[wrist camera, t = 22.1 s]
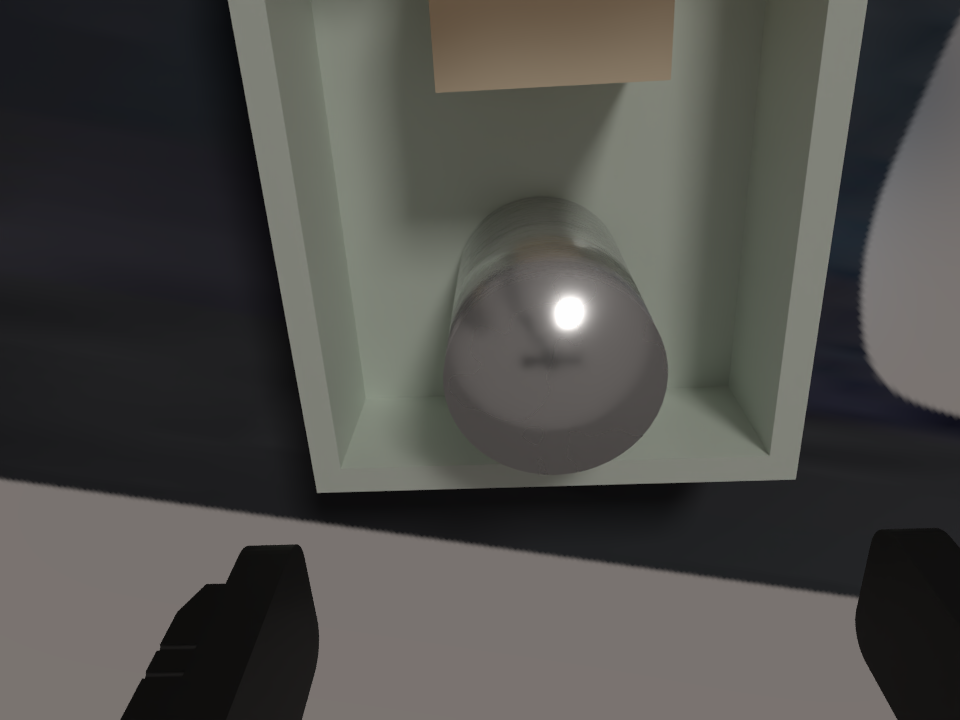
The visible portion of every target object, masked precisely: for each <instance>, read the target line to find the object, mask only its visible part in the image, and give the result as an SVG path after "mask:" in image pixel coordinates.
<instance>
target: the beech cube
mask: <svg viewBox="0 0 960 720" xmlns="http://www.w3.org/2000/svg"><path fill="white" fill-rule="evenodd" d="M674 9H675V0H429V14H430V27H431V40H432V53H433V67H434V80H435V93H443V92H461V91H480V90H498V89H516V88H535V87H553V86H571V85H590V84H608V83H626V82H645V81H663V80H671V67H672V48H673V29H674Z"/></svg>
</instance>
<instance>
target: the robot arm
mask: <svg viewBox="0 0 960 720" xmlns="http://www.w3.org/2000/svg"><path fill="white" fill-rule="evenodd" d="M855 621H856V622H855V623H856V632H857V633H856V634H857V639H858V643H859V647H860V650H861V653H862V655H863V657H864V659H865V661H866V664H867V665H868V667H869V669H870V671H871V673H872V674H873V676H874V678H875V680H876V682H877V683H878V685H879V687H880V689H881V691H882V692H883V694H884V696H885V698H886V700H887V701H888V703H889V705H890V707H891V709H892V711H893V712H894V714H895V716H896V718H897V719H898V720H960V548H959V547H958V545H957V544H956V543H955V542H954V541H953V539H952V538H951V537H950V536H949V535H948V534H947V533H946V532H945V531H943V530H941V529H939V528H916V529H882V530H879V531H877V532H876V533H875V535H874V536H873V538H872V542H871V546H870V550H869V555H868V559H867V564H866V568H865V573H864V577H863V582H862V586H861V591H860V596H859V600H858V605H857V609H856V618H855ZM318 649H319V630H318V622H317V616H316V612H315V607H314V602H313V597H312V592H311V587H310V582H309V577H308V572H307V568H306V563H305V558H304V554H303V551H302V549H301V547H300V546H299V545H261V546H246V547H245V548H243V550H242V551H241V553H240V555H239V556H238V559H237V561H236V563H235V565H234V567H233V569H232V571H231V573H230V576H229V578H228V580H227V582H226V584H206V585H205V586H204V587H203V588H202V589H201V590H200V591H199V592H198V593H197V594H196V595H195V596H194V597H192V598H191V599H190V601H188V602H187V603H186V604H185V605H184V606H183V607H182V608H181V609H180V610H179V611H178V612H177V614H176V615H175V617H174V619H173V621H172V623H171V625H170V627H169V629H168V631H167V633H166V635H165V636H164V638H163V640H162V642H161V644H160V651H157V652H156V653H155V655H154V657H153V659H152V661H151V663H150V665H149V667H148V669H147V670H146V677H145V679H142V680H141V682H140V684H139V685H138V687H137V689H136V692H135V693H134V695H133V697H132V699H131V701H130V703H129V704H128V706H127V708H126V710H125V712H124V714H123V716H122V718H121V720H302V716H303V713H304V709H305V706H306V702H307V699H308V695H309V691H310V688H311V684H312V681H313V677H314V673H315V669H316V664H317V658H318Z"/></svg>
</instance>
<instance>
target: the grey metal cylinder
mask: <svg viewBox="0 0 960 720" xmlns="http://www.w3.org/2000/svg"><path fill="white" fill-rule="evenodd" d="M667 381H668V362H667V356H666V350H665V347H664V344H663V341H662V338H661V336H660V334H659V332H658V330H657V328H656V326H655V324H654V322H653V319H652V317H651V315H650V313H649V311H648V309H647V307H646V305H645V303H644V301H643V299H642V297H641V294H640V292H639V290H638V288H637V286H636V284H635V282H634V280H633V278H632V276H631V274H630V271H629V269H628V267H627V265H626V263H625V261H624V259H623V257H622V255H621V253H620V251H619V249H618V246H617V244H616V242H615V240H614V238H613V236H612V234H611V233H610V231H609V230H608V229H607V227H606V226H605V224H604V223H603V222H602V221H601V220H600V219H599V218H598V217H597V216H596V215H594V214H593V213H592V212H591V211H589V210H588V209H586V208H584V207H583V206H581V205H579V204H577V203H574V202H572V201H569V200H566V199H562V198H557V197H550V196H535V197H527V198H523V199H519V200H515V201H513V202H510V203H508V204H505V205H503V206H502V207H500V208H498V209H496V210H495V211H493V212H492V213H491V214H489V215H488V216H487V217H486V218H485V219H484V220H483V221H482V222H480V223H479V225H478V226H477V227H476V228H475V230H474V231H473V232H472V234H471V235H470V237H469V239H468V241H467V243H466V245H465V247H464V250H463V253H462V256H461V260H460V266H459V272H458V279H457V285H456V292H455V298H454V304H453V311H452V317H451V324H450V330H449V337H448V343H447V349H446V356H445V363H444V370H443V387H444V393H445V399H446V402H447V405H448V408H449V411H450V414H451V416H452V418H453V420H454V422H455V424H456V425H457V426H458V428H459V429H460V431H461V432H462V434H463V435H464V436H465V437H466V438H467V439H468V441H469V442H470V443H471V444H472V445H474V446H475V447H476V448H477V449H478V450H479V451H480V452H482V453H483V454H485V455H486V456H488V457H489V458H491V459H493V460H495V461H496V462H498V463H500V464H502V465H505V466H507V467H510V468H513V469H516V470H519V471H524V472H528V473H534V474H542V475H561V474H571V473H576V472H581V471H585V470H588V469H592V468H595V467H598V466H600V465H602V464H604V463H607V462H609V461H611V460H613V459H614V458H616V457H618V456H619V455H621V454H622V453H624V452H625V451H626V450H628V449H629V448H630V447H632V446H633V445H634V444H635V443H636V442H637V441H638V440H639V439H640V438H641V437H642V436H643V435H644V434H645V432H646V431H647V430H648V429H649V427H650V426H651V425H652V423H653V421H654V420H655V418H656V416H657V415H658V412H659V410H660V408H661V406H662V403H663V400H664V397H665V393H666V389H667Z"/></svg>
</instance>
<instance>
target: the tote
mask: <svg viewBox="0 0 960 720" xmlns="http://www.w3.org/2000/svg"><path fill="white" fill-rule="evenodd" d="M867 1H868V0H675V9H674V29H673V48H672V67H671V80H663V81H645V82H626V83H608V84H590V85H571V86H553V87H535V88H516V89H498V90H480V91H461V92H443V93H435V80H434V67H433V53H432V40H431V27H430V14H429V0H228V4H229V9H230V15H231V20H232V26H233V31H234V37H235V42H236V48H237V53H238V59H239V64H240V70H241V75H242V81H243V86H244V92H245V97H246V103H247V108H248V114H249V120H250V125H251V131H252V136H253V142H254V147H255V153H256V158H257V164H258V169H259V175H260V180H261V186H262V191H263V197H264V202H265V208H266V213H267V219H268V224H269V230H270V235H271V241H272V246H273V252H274V257H275V263H276V268H277V274H278V279H279V285H280V291H281V296H282V302H283V307H284V313H285V318H286V324H287V329H288V335H289V340H290V346H291V351H292V357H293V362H294V368H295V373H296V379H297V384H298V390H299V395H300V401H301V406H302V412H303V417H304V423H305V428H306V434H307V439H308V445H309V451H310V456H311V462H312V467H313V473H314V478H315V484H316V489H317V493H330V492H366V491H401V490H437V489H472V488H508V487H543V486H579V485H614V484H650V483H686V482H721V481H757V480H792V479H796V474H797V467H798V461H799V454H800V447H801V441H802V434H803V427H804V421H805V414H806V407H807V401H808V394H809V387H810V381H811V374H812V367H813V361H814V354H815V347H816V341H817V334H818V327H819V321H820V314H821V307H822V301H823V294H824V287H825V281H826V274H827V267H828V261H829V254H830V247H831V241H832V234H833V227H834V221H835V214H836V207H837V201H838V194H839V187H840V181H841V174H842V167H843V161H844V154H845V147H846V141H847V134H848V128H849V121H850V114H851V108H852V101H853V94H854V88H855V81H856V74H857V68H858V61H859V54H860V48H861V41H862V34H863V28H864V21H865V14H866V8H867ZM535 196H550V197H557V198H562V199H566V200H569V201H572V202H574V203H577V204H579V205H581V206H583V207H584V208H586V209H588V210H589V211H591V212H592V213H593V214H594V215H596V216H597V217H598V218H599V219H600V220H601V221H602V222H603V223H604V224H605V226H606V227H607V229H608V230H609V231H610V233H611V234H612V236H613V238H614V240H615V242H616V244H617V246H618V249H619V251H620V253H621V255H622V257H623V259H624V261H625V263H626V265H627V267H628V269H629V271H630V274H631V276H632V278H633V280H634V282H635V284H636V286H637V288H638V290H639V292H640V294H641V297H642V299H643V301H644V303H645V305H646V307H647V309H648V311H649V313H650V315H651V317H652V319H653V322H654V324H655V326H656V328H657V330H658V332H659V334H660V336H661V338H662V341H663V344H664V347H665V350H666V356H667V362H668V381H667V389H666V393H665V397H664V400H663V403H662V406H661V408H660V410H659V412H658V415H657V416H656V418H655V420H654V421H653V423H652V425H651V426H650V427H649V429H648V430H647V431H646V432H645V434H644V435H643V436H642V437H641V438H640V439H639V440H638V441H637V442H636V443H635V444H634V445H633V446H632V447H630V448H629V449H628V450H626V451H625V452H624V453H622V454H621V455H619V456H618V457H616V458H614V459H613V460H611V461H609V462H607V463H604V464H602V465H600V466H598V467H595V468H592V469H588V470H585V471H581V472H576V473H571V474H561V475H542V474H534V473H528V472H524V471H519V470H516V469H513V468H510V467H507V466H505V465H502V464H500V463H498V462H496V461H495V460H493V459H491V458H489V457H488V456H486V455H485V454H483V453H482V452H480V451H479V450H478V449H477V448H476V447H475V446H474V445H472V444H471V443H470V442H469V441H468V439H467V438H466V437H465V436H464V435H463V434H462V432H461V431H460V429H459V428H458V426H457V425H456V424H455V422H454V420H453V418H452V416H451V414H450V411H449V408H448V405H447V402H446V399H445V393H444V387H443V370H444V363H445V356H446V349H447V343H448V337H449V330H450V324H451V317H452V311H453V304H454V298H455V292H456V285H457V279H458V272H459V266H460V260H461V256H462V253H463V250H464V247H465V245H466V243H467V241H468V239H469V237H470V235H471V234H472V232H473V231H474V230H475V228H476V227H477V226H478V225H479V223H480V222H482V221H483V220H484V219H485V218H486V217H487V216H488V215H489V214H491V213H492V212H493V211H495V210H496V209H498V208H500V207H502V206H503V205H505V204H508V203H510V202H513V201H515V200H519V199H523V198H527V197H535Z"/></svg>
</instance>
